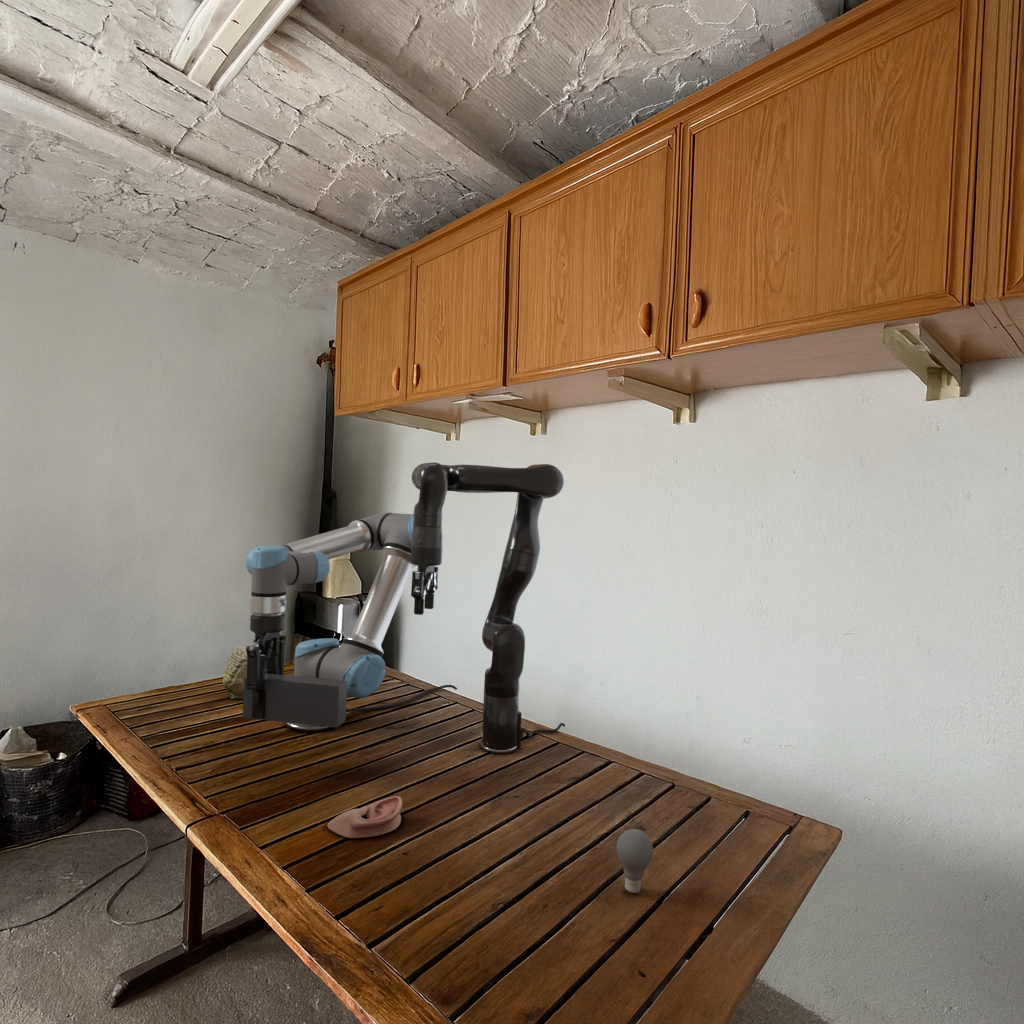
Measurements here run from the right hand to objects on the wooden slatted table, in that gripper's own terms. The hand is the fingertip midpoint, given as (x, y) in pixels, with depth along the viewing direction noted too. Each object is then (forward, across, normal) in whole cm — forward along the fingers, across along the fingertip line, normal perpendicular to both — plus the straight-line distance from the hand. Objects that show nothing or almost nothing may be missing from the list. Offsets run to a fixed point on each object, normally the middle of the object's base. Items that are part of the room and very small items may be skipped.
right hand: (424, 611), depth 154 cm
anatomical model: (+36, -32, +1) cm, 48 cm away
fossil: (+36, +34, +64) cm, 81 cm away
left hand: (+24, -13, +33) cm, 43 cm away
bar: (+24, -13, +26) cm, 38 cm away
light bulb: (+36, -42, -50) cm, 75 cm away
